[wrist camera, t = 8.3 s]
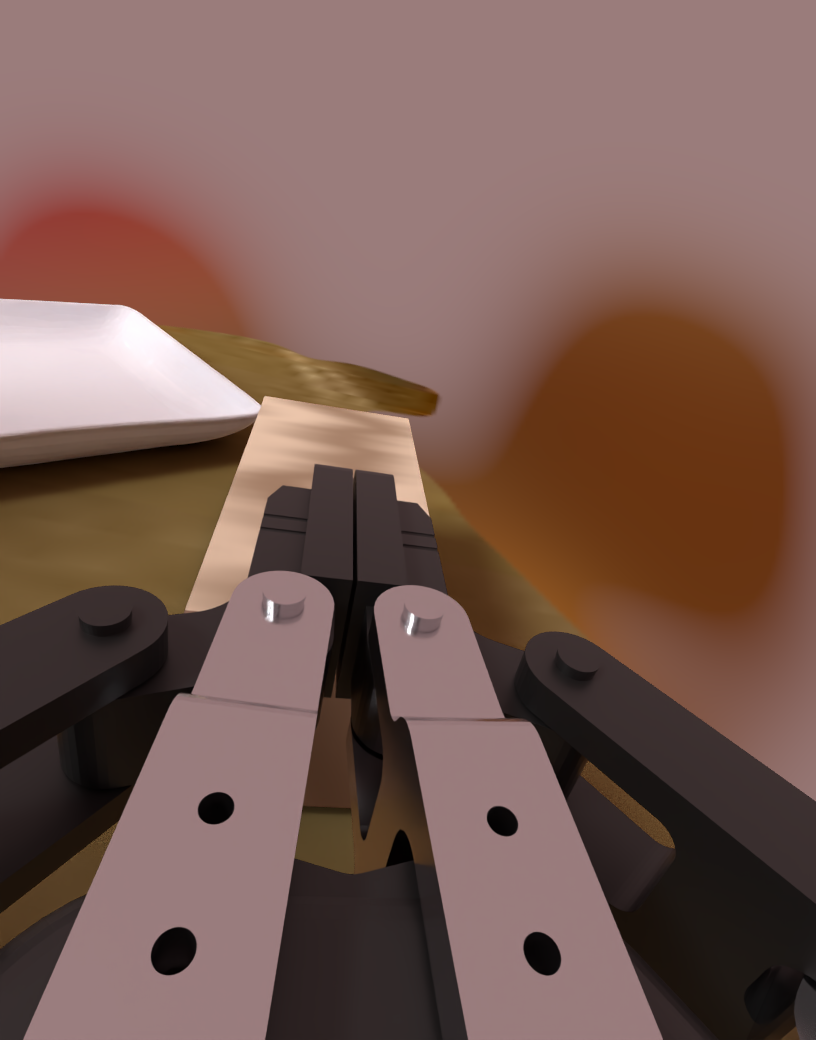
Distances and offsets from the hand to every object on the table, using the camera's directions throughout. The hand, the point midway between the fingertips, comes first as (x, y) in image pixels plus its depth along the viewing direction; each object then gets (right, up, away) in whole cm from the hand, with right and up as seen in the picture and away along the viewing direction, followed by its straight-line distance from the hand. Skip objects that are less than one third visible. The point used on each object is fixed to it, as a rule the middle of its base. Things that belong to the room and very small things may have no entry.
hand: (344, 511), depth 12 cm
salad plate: (-21, +6, +23) cm, 32 cm away
